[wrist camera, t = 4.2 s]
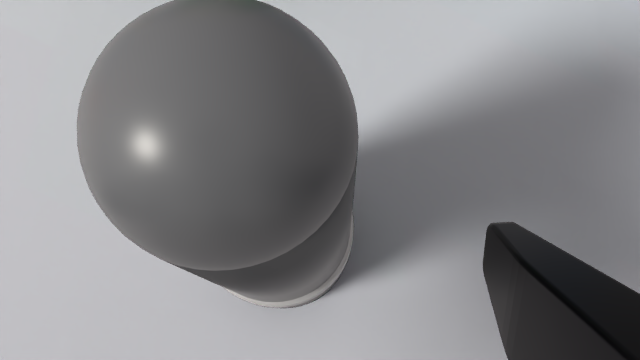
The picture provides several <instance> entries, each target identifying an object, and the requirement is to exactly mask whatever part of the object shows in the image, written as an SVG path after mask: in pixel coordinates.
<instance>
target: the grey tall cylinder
mask: <svg viewBox="0 0 640 360" xmlns="http://www.w3.org/2000/svg"><path fill="white" fill-rule="evenodd" d="M77 146H78V152H79V158H80V163H81V166H82V169H83V172H84V175H85V178H86V181H87V184H88V186H89V189H90V191H91V193H92V194H93V196H94V198H95V200H96V202H97V204H98V205H99V206H100V208H101V209H102V210H103V212H104V213H105V215H106V216H107V217H108V219H109V220H110V221H111V223H112V224H113V225H114V226H115V227H116V228H117V229H118V230H119V231H120V232H121V233H122V234H123V235H124V236H125V237H127V238H128V239H129V240H131V241H132V242H133V243H135V244H136V245H137V246H139V247H140V248H142V249H143V250H145V251H147V252H148V253H150V254H152V255H154V256H156V257H158V258H159V259H161V260H164V261H166V262H168V263H170V264H173V265H175V266H177V267H179V268H182V269H184V270H186V271H188V272H191V273H193V274H195V275H197V276H200V277H202V278H204V279H206V280H209V281H211V282H213V283H215V284H217V285H220V286H222V287H223V288H225V289H226V290H227V291H229V292H230V293H231V294H233V295H235V296H237V297H239V298H240V299H243V300H245V301H248V302H250V303H253V304H256V305H260V306H264V307H272V308H293V307H299V306H302V305H305V304H308V303H310V302H312V301H315V300H316V299H318V298H319V297H321V296H323V295H324V294H325V293H326V292H327V291H328V290H330V289H331V287H332V286H333V285H334V284H335V283H336V281H337V280H338V278H339V277H340V275H341V273H342V271H343V269H344V267H345V265H346V263H347V261H348V258H349V255H350V252H351V247H352V242H353V231H354V221H353V213H352V207H353V196H354V185H355V174H356V163H357V151H358V123H357V112H356V108H355V103H354V99H353V95H352V93H351V90H350V87H349V85H348V82H347V80H346V77H345V75H344V73H343V71H342V69H341V68H340V66H339V64H338V62H337V60H336V59H335V58H334V56H333V55H332V54H331V52H330V51H329V50H328V48H327V47H326V46H325V45H324V43H323V42H322V41H321V40H320V39H319V38H318V37H317V36H316V35H315V34H314V33H313V32H312V31H311V30H310V29H308V28H307V27H306V26H305V25H303V24H302V23H301V22H299V21H298V20H297V19H295V18H293V17H292V16H290V15H289V14H287V13H285V12H283V11H282V10H280V9H278V8H276V7H273V6H271V5H269V4H266V3H264V2H260V1H257V0H174V1H170V2H167V3H165V4H163V5H160V6H158V7H155V8H153V9H151V10H150V11H148V12H146V13H144V14H142V15H141V16H139V17H138V18H136V19H135V20H133V21H132V22H130V23H129V24H128V25H127V26H125V27H124V28H123V29H122V30H121V31H120V32H119V33H117V34H116V36H115V37H114V38H113V39H112V40H111V41H110V42H109V43H108V44H107V45H106V47H105V48H104V50H103V51H102V52H101V54H100V55H99V57H98V58H97V60H96V62H95V64H94V65H93V67H92V69H91V71H90V73H89V76H88V78H87V81H86V84H85V86H84V89H83V91H82V95H81V99H80V103H79V107H78V117H77Z"/></svg>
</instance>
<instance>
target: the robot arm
mask: <svg viewBox="0 0 640 360" xmlns="http://www.w3.org/2000/svg"><path fill="white" fill-rule="evenodd" d="M483 272H484V277H485V281H486V284H487V288H488V292H489V295H490V299H491V303H492V306H493V310H494V314H495V317H496V321H497V325H498V328H499V332H500V336H501V339H502V343H503V346H504V349H505V352H506V355H507V358H508V360H640V294H639V293H637V292H635V291H634V290H632V289H630V288H628V287H627V286H625V285H623V284H621V283H620V282H618V281H616V280H614V279H613V278H611V277H609V276H607V275H606V274H604V273H602V272H600V271H599V270H597V269H595V268H593V267H592V266H590V265H588V264H586V263H584V262H583V261H581V260H579V259H577V258H576V257H574V256H572V255H570V254H569V253H567V252H565V251H563V250H562V249H560V248H558V247H556V246H555V245H553V244H551V243H549V242H548V241H546V240H544V239H542V238H541V237H539V236H537V235H535V234H534V233H532V232H530V231H528V230H526V229H525V228H523V227H521V226H519V225H518V224H516V223H514V222H500V223H491V224H490V225H489V226H488V228H487V232H486V240H485V248H484V257H483Z"/></svg>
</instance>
